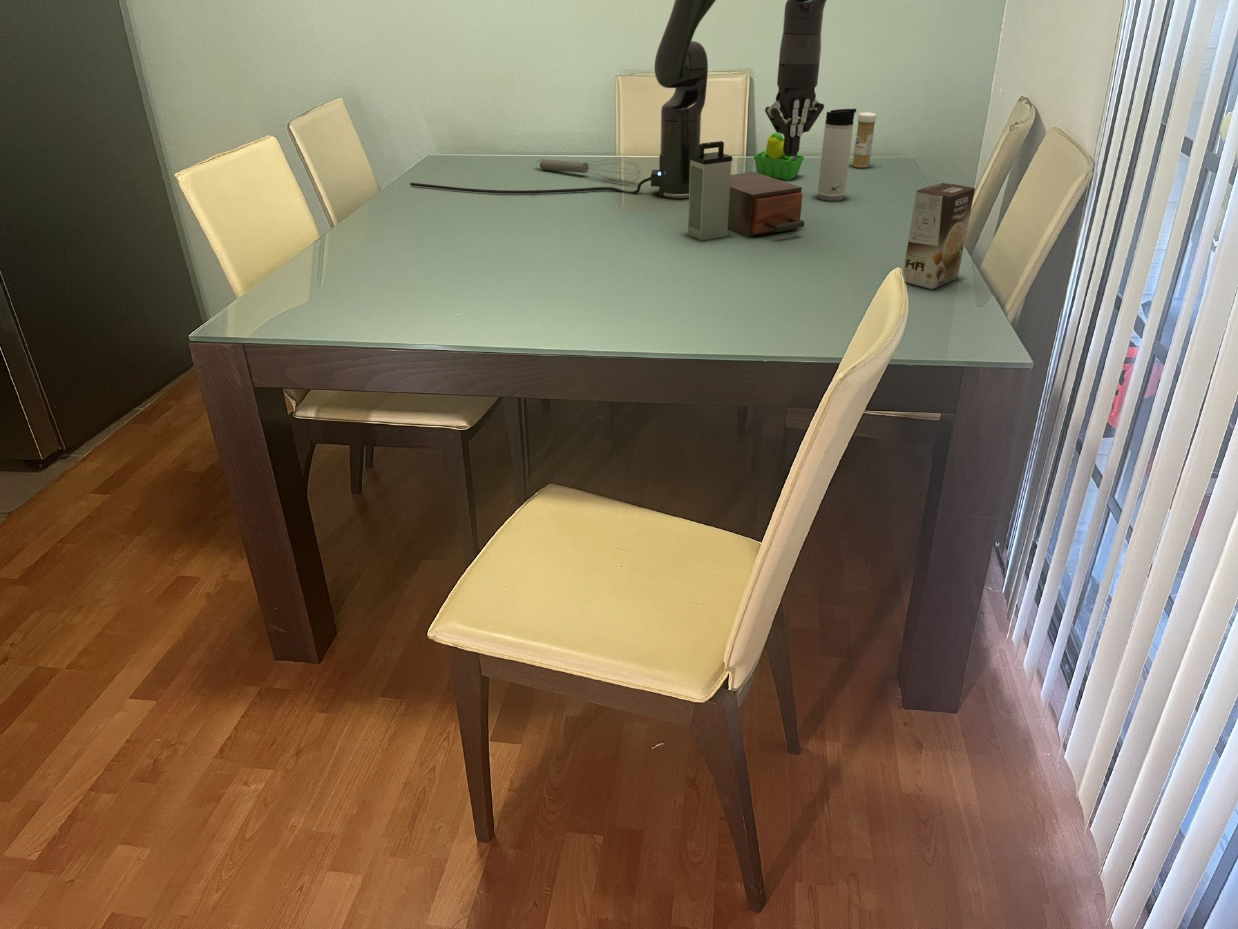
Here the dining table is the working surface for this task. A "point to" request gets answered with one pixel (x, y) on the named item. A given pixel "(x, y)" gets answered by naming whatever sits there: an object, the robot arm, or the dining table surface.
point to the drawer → (777, 213)
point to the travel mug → (835, 154)
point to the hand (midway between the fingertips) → (790, 155)
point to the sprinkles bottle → (864, 140)
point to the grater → (709, 192)
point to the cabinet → (752, 198)
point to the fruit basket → (777, 160)
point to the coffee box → (937, 234)
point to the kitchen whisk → (579, 167)
